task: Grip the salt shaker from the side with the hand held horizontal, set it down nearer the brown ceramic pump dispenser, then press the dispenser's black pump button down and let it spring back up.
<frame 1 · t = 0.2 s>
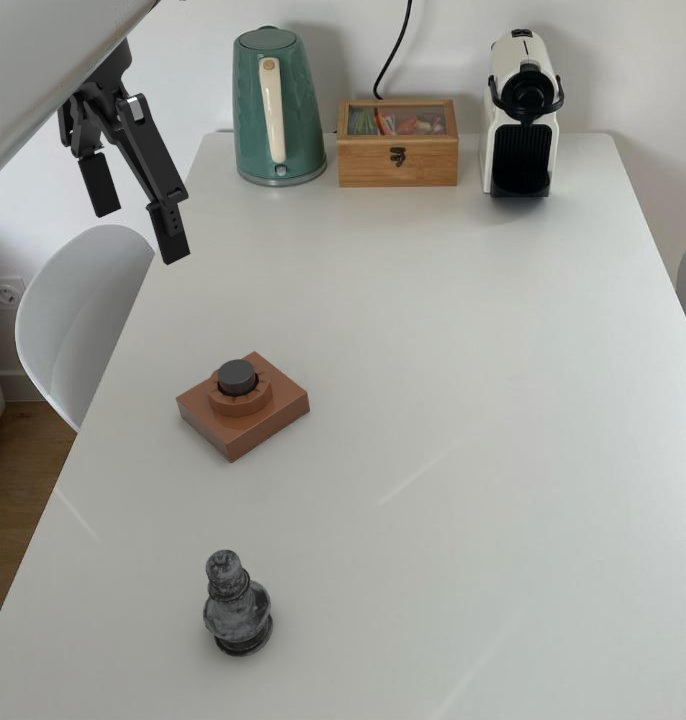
hand: (141, 234, 85), 20 cm above the table, tool pointing down, fingers open, 13 cm apart
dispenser: (245, 413, 93), on the table
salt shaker: (244, 630, 73), on the table
pump button: (237, 377, 89), point 6 cm above the table, slide at 0.1 cm
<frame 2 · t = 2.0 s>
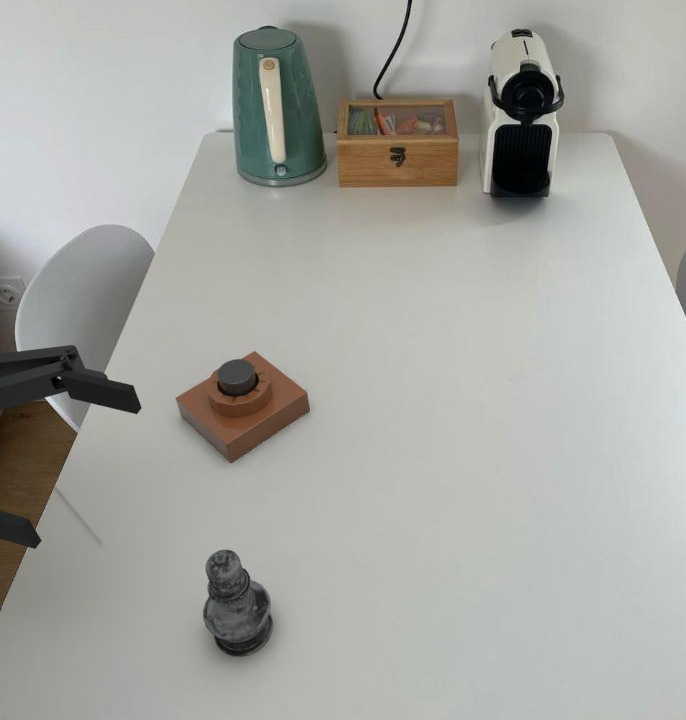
hand: (88, 462, 62), 20 cm above the table, tool horizontal, fingers open, 13 cm apart
nothing on the table moved.
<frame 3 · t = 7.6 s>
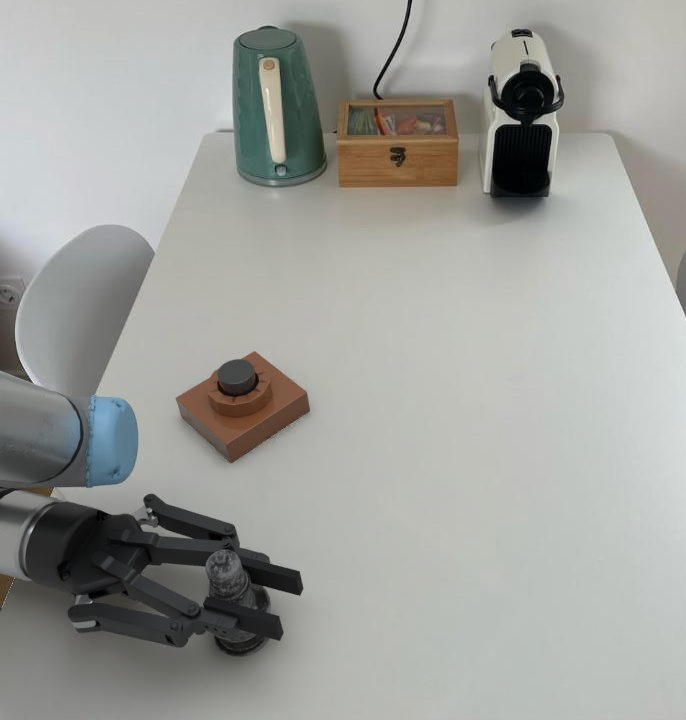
hand: (289, 605, 67), 6 cm above the table, tool horizontal, fingers closed on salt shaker, 4 cm apart
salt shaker: (244, 630, 73), on the table, touching gripper
everything else where it was.
when the fingers open (6 cm above the table, at t = 14.3 s): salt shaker stays where it is, on the table.
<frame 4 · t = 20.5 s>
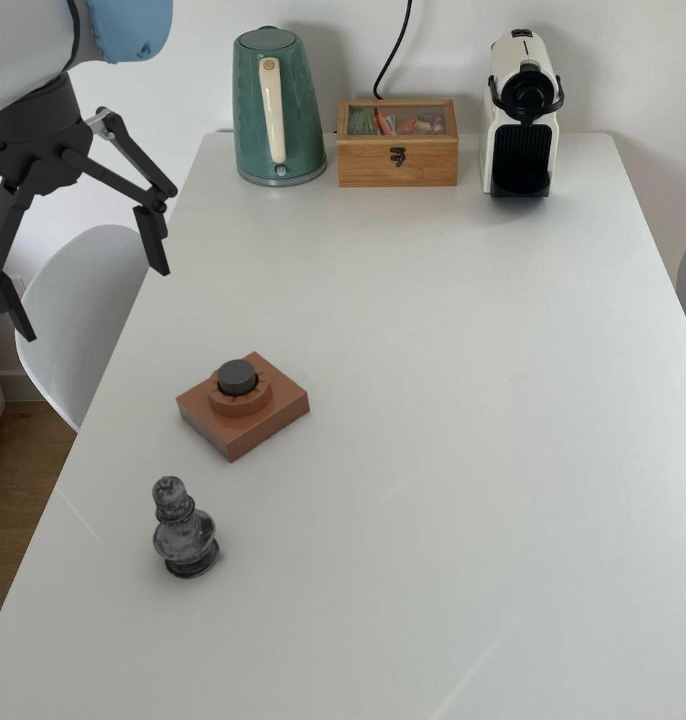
hand: (96, 300, 75), 21 cm above the table, tool pointing down, fingers open, 13 cm apart
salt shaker: (192, 556, 79), on the table
everything else where it was.
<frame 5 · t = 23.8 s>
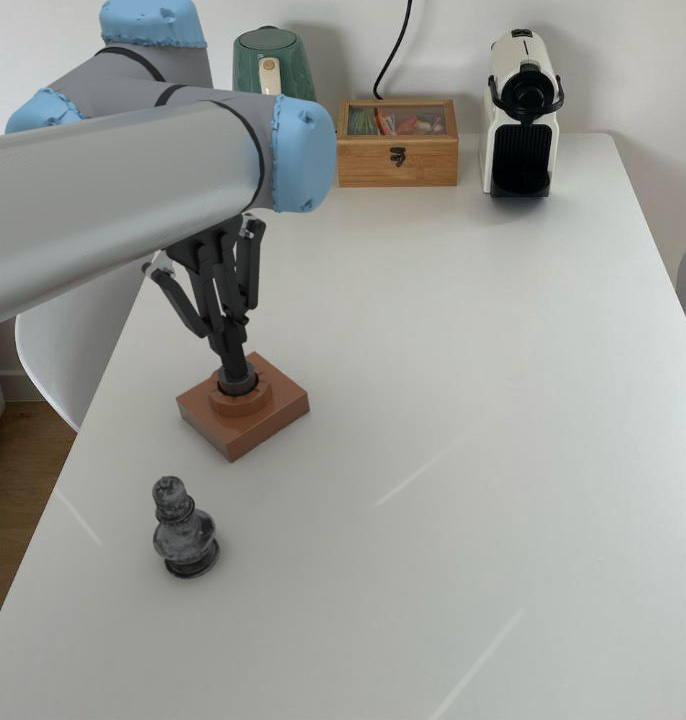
hand: (235, 368, 88), 7 cm above the table, tool pointing down, fingers closed
pump button: (237, 377, 89), point 6 cm above the table, slide at 0.1 cm, touching gripper
everything else where it was.
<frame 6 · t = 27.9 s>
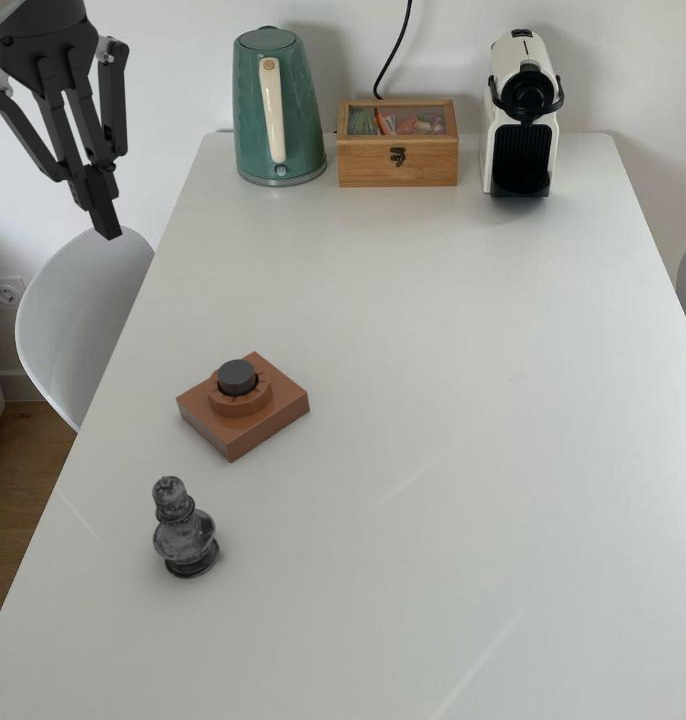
hand: (108, 232, 77), 24 cm above the table, tool pointing down, fingers closed
pump button: (237, 377, 89), point 6 cm above the table, slide at 0.1 cm
everything else where it was.
at the end: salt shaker inside the target area (0.0 cm from its centre), on the table; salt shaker tilted 0°; pump button pushed in 1.2 cm at the most during the clip, back to where it started at the end; pump button slide at 0.1 cm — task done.
